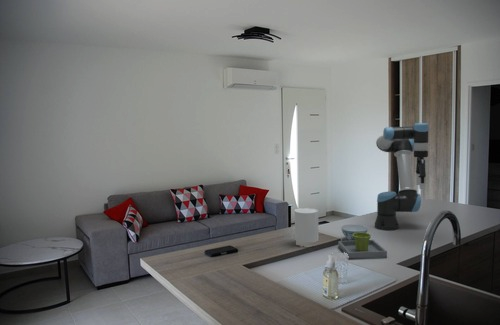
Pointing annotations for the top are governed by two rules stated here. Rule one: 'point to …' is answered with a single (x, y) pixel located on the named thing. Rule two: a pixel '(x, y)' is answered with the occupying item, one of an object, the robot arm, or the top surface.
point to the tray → (372, 252)
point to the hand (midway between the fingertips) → (420, 186)
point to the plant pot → (361, 241)
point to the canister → (306, 225)
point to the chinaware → (353, 230)
